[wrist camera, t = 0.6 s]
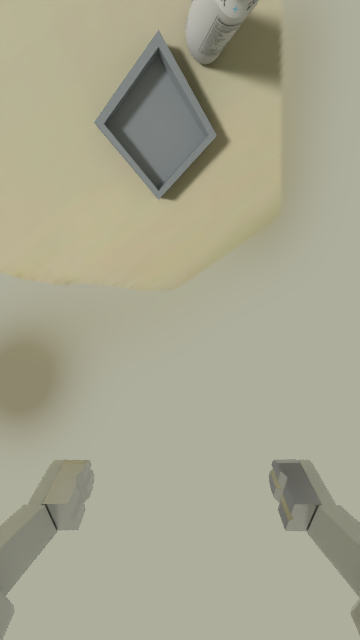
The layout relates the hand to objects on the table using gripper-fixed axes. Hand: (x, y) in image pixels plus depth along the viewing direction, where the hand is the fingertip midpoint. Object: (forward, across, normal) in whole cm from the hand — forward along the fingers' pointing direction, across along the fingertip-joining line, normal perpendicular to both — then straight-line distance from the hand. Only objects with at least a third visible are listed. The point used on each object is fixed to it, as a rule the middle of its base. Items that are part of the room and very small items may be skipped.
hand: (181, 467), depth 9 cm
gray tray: (+40, +4, -26) cm, 48 cm away
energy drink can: (+39, -4, -37) cm, 54 cm away
